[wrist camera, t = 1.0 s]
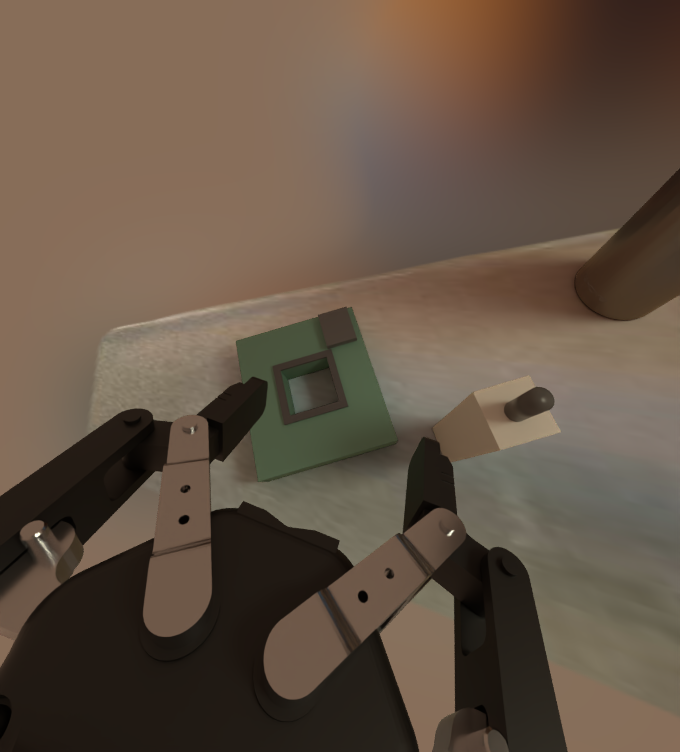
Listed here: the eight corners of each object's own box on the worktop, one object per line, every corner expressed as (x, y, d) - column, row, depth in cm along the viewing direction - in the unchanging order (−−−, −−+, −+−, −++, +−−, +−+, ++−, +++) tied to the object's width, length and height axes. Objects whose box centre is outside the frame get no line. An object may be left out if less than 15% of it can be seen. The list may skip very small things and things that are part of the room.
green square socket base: (352, 319, 38) (351, 303, 35) (395, 443, 32) (398, 439, 29) (245, 351, 38) (232, 338, 35) (267, 481, 32) (255, 481, 29)
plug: (465, 418, 33) (555, 357, 17) (481, 453, 31) (595, 422, 15) (431, 428, 33) (490, 376, 17) (446, 463, 31) (524, 444, 15)
